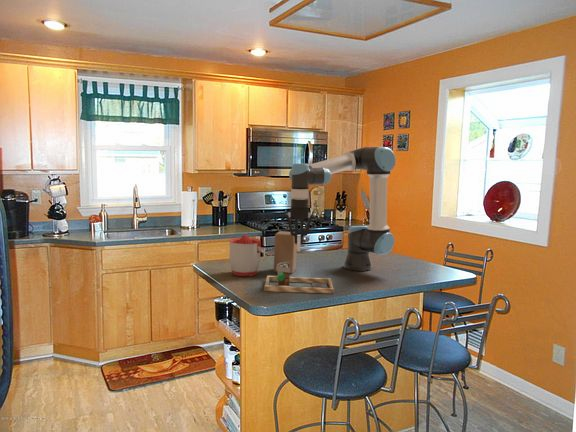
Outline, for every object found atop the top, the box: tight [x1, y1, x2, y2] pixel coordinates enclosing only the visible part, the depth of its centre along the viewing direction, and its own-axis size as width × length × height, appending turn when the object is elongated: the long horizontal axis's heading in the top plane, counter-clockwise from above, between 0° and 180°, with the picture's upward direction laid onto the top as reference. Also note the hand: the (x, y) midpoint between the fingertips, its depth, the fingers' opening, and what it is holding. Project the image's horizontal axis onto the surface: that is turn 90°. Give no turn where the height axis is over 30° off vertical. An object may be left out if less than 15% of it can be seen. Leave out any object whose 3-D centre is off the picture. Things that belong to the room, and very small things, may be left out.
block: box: [273, 230, 298, 275], centre depth 230 cm, size 10×10×20 cm
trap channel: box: [263, 275, 335, 294], centre depth 203 cm, size 30×17×2 cm, turn 89°
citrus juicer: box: [228, 234, 265, 277], centre depth 221 cm, size 16×17×20 cm
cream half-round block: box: [276, 262, 291, 286], centre depth 203 cm, size 12×6×10 cm, turn 0°
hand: (298, 250), depth 201 cm, fingers closed
